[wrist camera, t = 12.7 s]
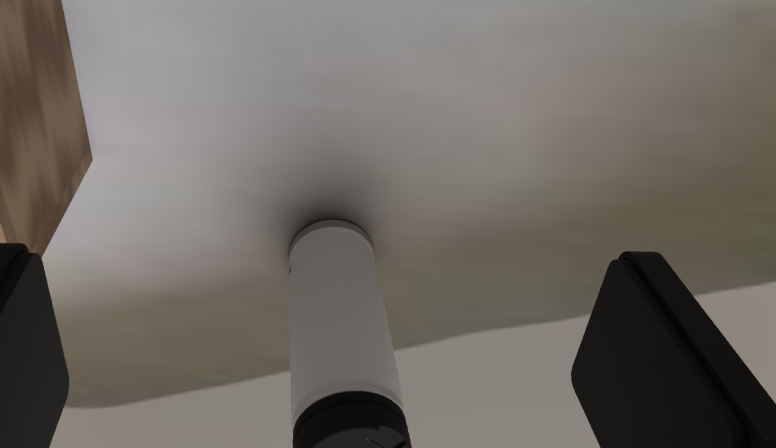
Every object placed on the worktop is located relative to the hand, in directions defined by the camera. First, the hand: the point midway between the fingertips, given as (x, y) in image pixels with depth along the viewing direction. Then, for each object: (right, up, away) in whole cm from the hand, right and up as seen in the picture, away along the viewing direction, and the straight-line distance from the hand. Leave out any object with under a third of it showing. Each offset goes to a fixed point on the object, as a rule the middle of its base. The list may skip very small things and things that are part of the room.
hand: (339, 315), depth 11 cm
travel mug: (-4, -1, +39) cm, 39 cm away
